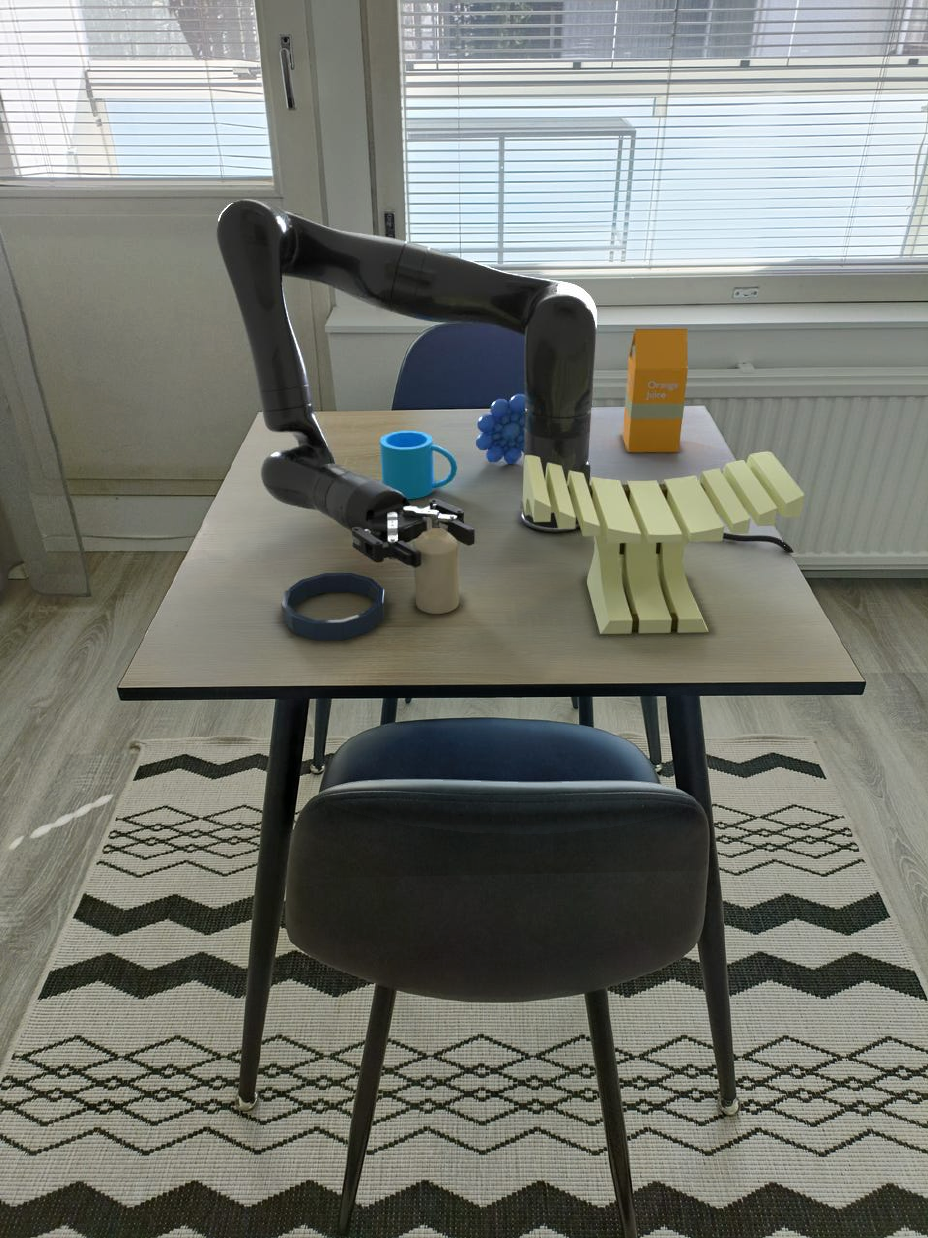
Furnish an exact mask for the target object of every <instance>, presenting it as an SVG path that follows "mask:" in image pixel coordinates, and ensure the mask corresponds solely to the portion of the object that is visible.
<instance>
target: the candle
mask: <svg viewBox="0 0 928 1238" xmlns="http://www.w3.org/2000/svg"><path fill="white" fill-rule="evenodd" d="M443 528H444V527H441V528H432V527H431V528H429V529H427V530H428V531H427V532H423V533H422V534H421V535H420V536H419V537H418V538H416V539H414V541H413V547H414V548H416V549H418V550H419V551H420V553H421V566H419V567H416V568H414V567H413V568H414V571H413V572H414V591H415V593H414V595H415V604H416V606H417V608H418V609H419V610H420V611H422V612H424V613H427V614H431V615H441V614H442V615H443V614H446V613H447V614H448V613H450V612H452V611H454V610H455V609H457V608H458V606H459V604H460V568H459V567H460V564H459V563H460V562H459V561H460V559H459V558H460V557H459V541H458V540H457V539H456V538H454V537H453V536H452V535H451V534H449V533H448V532H447V531H446V530H445V529H443Z"/></svg>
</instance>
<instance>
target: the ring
mask: <svg viewBox="0 0 928 1238" xmlns="http://www.w3.org/2000/svg"><path fill="white" fill-rule="evenodd" d="M342 592H343V593H345V592H346V593H347V592H349V593H353V594H358V595H360V596H361V595H362V596H364V597H368V598H370V599H371V600H372V601H373V602H374V604H372V605H371V606H370V607H369V608H368V609H366V610H365V611H364V612H362V613H359V614H355V615H352V616H349V617H346V618H342V619H313V618H311V617H307V616H304V615H301V614H297V613H296V612H295V610H294V608H295V607H296V606H298V605H299V604H301V603H302V602H303V601H305V600H306V599H308V598H311V597H315V596H318V595H322V594H325V593H342ZM385 597H386V595H385V589H384V588H383V587H382V585H380V584H379V583H378V582H377V581H376V580H375V579H374V578H372V577H370V576H369V577H368V576H365V575H361V574H358V573H354V572H323V573H320V574H317V575H312V576H310V577H306V578H305V577H304V578H302V579H300V580H299V581H297V582H296V583H294V584H293V585H292V586H290V587H288V588H287V589H285V591H284V594H283V597H282V600H281V603H280V604H281V613H282V621H283V623H284V624H285V625H286V626H287V628H288V629H289V630H290V631H291V632H292V633H293V634H294V635H297V636H300V637H303V638H307V639H309V640H313V641H345V640H348V639H352V638H355V637H357V636H358V637H359V636H361V635H364V634H365V635H366V634H367V633H370V632H371V631H372V630H373V629H375V628H376V627H377V626H378V625H380V623H382V622H383V621H384V619H385V612H386V611H385V610H386V600H385V599H386V598H385Z"/></svg>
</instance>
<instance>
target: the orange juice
mask: <svg viewBox="0 0 928 1238" xmlns="http://www.w3.org/2000/svg"><path fill="white" fill-rule="evenodd" d="M688 361H689V359H688V328H635V329H634V333H633V337H632V342H631V347H630V350H629V355H628V362H627V363H628V364H627V377H626V388H625V399H624V412H623V413H624V415H623V425H622V426H623V427H622V439H623V441H624V444H625V445H624V446H625V448H626V451H627V453H673V452H674V453H679V451H680V442H681V434H682V424H683V417H684V409H685V399H686V388H687V382H688V381H687V379H688V374H689V373H688V372H689V366H688V363H689V362H688Z"/></svg>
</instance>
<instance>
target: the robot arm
mask: <svg viewBox="0 0 928 1238" xmlns="http://www.w3.org/2000/svg"><path fill="white" fill-rule="evenodd" d="M215 229H216V242H217V243H216V244H217V246H218V250H219V252H220V255H221V258H222V261H223V264H224V267H225V269H226V272H227V275H228V278H229V281H230V284H231V287H232V289H233V292H234V295H235V298H236V300H237V305H238V308H239V311H240V315H241V319H242V322H243V325H244V329H245V333H246V337H247V341H248V345H249V348H250V354H251V359H252V364H253V368H254V374H255V380H256V385H257V391H258V396H259V401H260V406H261V410H262V411H261V412H262V418H263V421H264V424H265V426H266V428H267V430H269V431H270V432H272V433H277V434H278V433H280V434H285V433H286V434H291V435H292V436H293V437H294V439H295V440H296V442H297V444H298V446H295V447H291V448H290V447H289V448H286V449H282V450H277V451H275V452H272V453H271V454H269V455H268V456H267V457H266V458H265V459H264V460H263V462H262V465H261V468H260V478H261V481H262V484H263V487H264V488H265V489H266V491H267V492H268V493H269V495H270V496H271V497H273V498H274V499H275V500H277V501H279V502H280V503H283V504H285V505H289V506H292V507H297V508H301V509H306V510H313V511H319V512H320V513H321V514H323V515H325V516H327V517H329V518H331V519H332V520H334V521H335V522H337V524H339V525H340V526H342V527H343V528H345V529H347V530H348V531H350V532H351V538H352V539H351V540H352V548H353V549H355V550H356V551H358V552H359V553H361V554H362V555H364V556H365V557H366V558H368V559H370V560H371V561H373V562H374V563H382V562H384V559H386V558H388V559H389V560H392V561H394V560H397V561H399V562H401V563H403V564H404V565H406V566H411V567H412V568H416V567H419V566H421V553H420V551H419V550H418V549H416V548H414V547H413V546H412V545H411V544H409V543H410V542H412V541H413V540H416V539H417V538H418V537H419V536H420V535H421V534H422V533H423V532H427V531H428V530H429V529H428V521H427V518H429V519H430V521H431V528H443V529H445V530H446V531H447V532H448V533H449V534H451V535H452V536H453V537H454V538H456V539H457V541H458V542H459V543H462V544H464V545H466V546H468V547H470V546H473V545H475V542H476V541H475V540H476V537H475V533H476V532H475V528H474V527H472V526H470V525H468V524H466V523H465V510H464V509H463V508H460V507H457V506H454V505H452V504H450V503H447V502H445V501H442V500H440V499H437V498H431V499H429V505H428V506H425V507H421V506H416V505H412V504H411V503H410V502H409V499H406V497H405V496H404V495H403V494H402V493H401V492H399V491H397V490H395V489H393V488H391V487H389V486H387V485H385V484H383V483H382V482H380V481H378V480H376V479H374V478H373V477H370V476H367V475H365V474H361V473H357V472H355V471H353V470H352V469H349V468H348V467H345V466H343V465H341V464H336V461H335V457H334V456H333V453H332V450H331V449H330V447H329V443H327V440H326V439H325V436H324V435H323V432H322V429H321V426H320V424H319V422H318V420H317V417H316V415H315V412H314V407H313V401H312V396H311V395H312V394H311V388H310V384H309V377H308V373H307V368H306V364H305V362H304V358H303V354H302V351H301V348H300V346H299V343H298V341H297V338H296V335H295V332H294V329H293V326H292V324H291V321H290V317H289V312H288V309H287V304H286V299H285V293H284V285H283V284H284V283H283V277H287V278H294V279H298V280H305V281H309V282H315V283H318V284H322V285H325V286H328V287H330V288H334V289H335V290H338V291H340V292H342V293H344V294H346V295H348V296H350V297H352V298H354V299H356V300H359V301H361V302H363V303H366V304H368V305H370V306H373V307H375V308H379V309H381V310H385V311H387V312H390V313H394V314H398V315H401V316H405V317H408V318H412V319H415V320H420V321H426V322H432V323H444V324H475V325H476V324H478V325H487V326H492V327H496V328H500V329H504V330H507V331H510V332H512V333H516V334H518V335H521V336H524V378H523V379H524V380H523V383H524V384H523V385H524V395H525V432H524V453H523V460H524V459H525V455H533V456H537V457H540V461H541V465H542V469H543V474H544V478H546V467H547V463H552V464H556V465H560V466H562V469H563V473H564V477H565V480H566V484H567V482H568V474H569V470H570V471H575V472H580V473H583V474H584V477H585V480H586V483H587V485H590V480H591V464H590V461H589V453H590V437H591V423H592V422H591V421H592V405H593V392H594V374H595V359H596V342H597V325H598V323H597V322H598V312H597V307H596V304H595V302H594V300H593V299H592V297H591V295H590V294H589V293H587V292H586V291H585V290H584V289H583V288H581V287H580V286H578V285H576V284H573V283H570V282H565V281H559V280H551V279H545V278H538V277H532V276H526V275H520V274H515V273H510V272H506V271H503V270H499V269H496V268H493V267H490V266H488V265H485V264H481V263H479V262H476V261H474V260H470V259H467V258H464V257H461V256H458V255H455V254H451V253H449V252H445V251H443V250H439V249H436V248H433V247H429V246H425V245H422V244H418V243H415V242H410V241H407V240H405V239H399V238H395V237H390V236H385V235H384V236H383V235H377V234H373V233H372V234H371V233H364V232H356V231H355V232H354V231H347V230H342V229H336V228H332V227H329V226H326V225H323V224H321V223H318V222H315V221H312V220H310V219H308V218H305V217H302V216H301V215H300V216H299V215H297V214H295V213H292V212H290V211H287V210H285V209H283V208H281V207H279V206H278V205H275V204H272V203H270V202H266V201H262V200H257V199H251V198H241V199H238V200H235V201H233V202H232V203H230V204H228V205H227V206H226V207H225V208H224V209H223V210H222V211H221V213H220V215H219V217H218V220H217V224H216V228H215ZM519 502H520V503H519V505H520V506H519V509H521V510H522V512H521V521H522V523H524V525H526V526H527V527H528V528H531V529H533V530H536V531H540V532H545V533H565V532H571V531H574V530H577V529H579V528H580V525H579V522H578V519H577V517H576V516H575V517H576V522H575V529H558V525H557V521H556V517H555V514H554V513H551V521H550V522H534V521H533V516H532V514H530V515H526V516H525V512H524V506H523V500H520V501H519ZM441 524H442V525H444V526H446V527H441V526H440V525H441ZM723 540H728V541H733V542H746V543H749V542H751V543H753V542H765V543H771V544H775V545H777V546H778V547H780V548H781V549H782V550H784V552H786V553H789V554H793V553H794V550H793V548H792V547H791V546H790V545H789V544H788V543H787V542H786V541H784V540H782V539H780V538H778V537H776V536H772V535H765V534H763V535H762V534H756V535H754V534H751V535H749V534H731V533H728V532H724V533H723ZM782 541H783V542H782ZM784 545H785V546H784Z"/></svg>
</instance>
